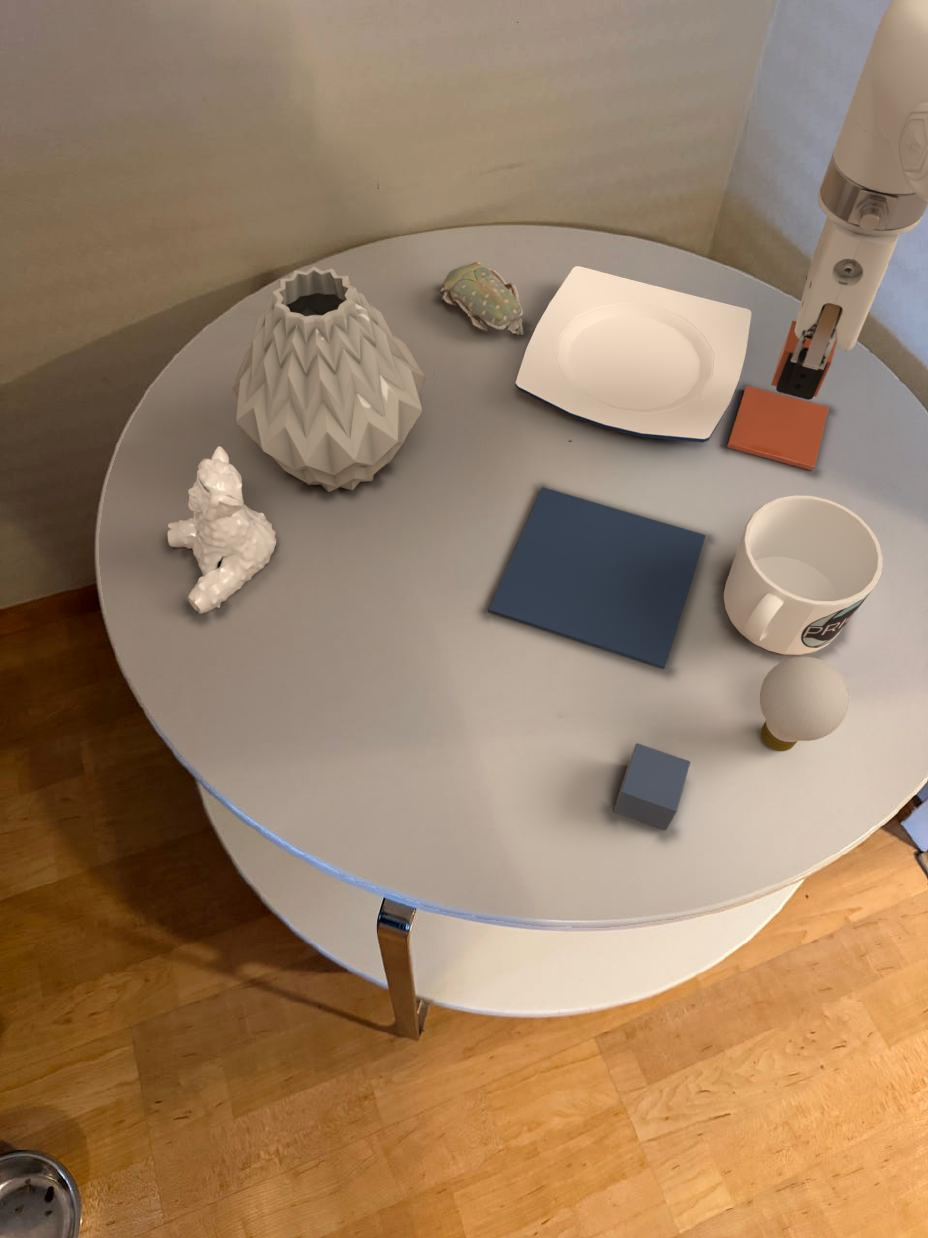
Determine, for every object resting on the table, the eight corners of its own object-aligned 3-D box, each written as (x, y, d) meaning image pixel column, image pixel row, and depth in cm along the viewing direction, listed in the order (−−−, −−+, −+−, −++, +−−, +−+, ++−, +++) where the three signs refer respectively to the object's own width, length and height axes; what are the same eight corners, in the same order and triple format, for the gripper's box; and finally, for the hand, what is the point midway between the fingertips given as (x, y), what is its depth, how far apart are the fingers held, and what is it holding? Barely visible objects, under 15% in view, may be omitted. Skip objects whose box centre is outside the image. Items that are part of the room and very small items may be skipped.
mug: (759, 533, 83) (786, 473, 76) (869, 598, 79) (907, 540, 72) (675, 635, 77) (696, 580, 70) (790, 709, 74) (824, 658, 67)
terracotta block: (823, 366, 84) (839, 331, 81) (816, 397, 82) (831, 362, 79) (779, 355, 85) (792, 319, 82) (770, 385, 83) (783, 350, 80)
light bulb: (797, 790, 70) (843, 733, 62) (723, 751, 72) (759, 690, 63) (825, 729, 73) (874, 666, 64) (754, 692, 75) (792, 627, 66)
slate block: (679, 782, 71) (690, 761, 67) (666, 831, 69) (677, 811, 65) (627, 764, 71) (636, 742, 68) (613, 812, 69) (621, 791, 66)
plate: (566, 278, 100) (569, 257, 98) (756, 327, 97) (763, 306, 94) (500, 409, 90) (501, 389, 88) (709, 469, 87) (716, 450, 84)
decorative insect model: (527, 264, 100) (522, 229, 96) (525, 349, 96) (520, 317, 92) (445, 270, 102) (437, 236, 97) (439, 354, 98) (430, 323, 93)
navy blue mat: (704, 537, 83) (705, 534, 82) (664, 669, 76) (665, 666, 75) (541, 489, 85) (541, 486, 85) (488, 612, 78) (488, 609, 78)
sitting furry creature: (166, 535, 82) (125, 441, 72) (261, 504, 84) (234, 407, 74) (196, 620, 78) (156, 532, 68) (295, 584, 80) (271, 494, 70)
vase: (261, 541, 82) (214, 384, 66) (245, 406, 91) (200, 238, 75) (444, 511, 84) (441, 351, 68) (412, 381, 92) (402, 212, 77)
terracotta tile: (827, 411, 91) (829, 406, 90) (812, 471, 87) (814, 466, 86) (744, 389, 92) (746, 384, 92) (726, 447, 88) (728, 442, 88)
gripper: (916, 270, 63) (825, 454, 79) (943, 134, 71) (856, 325, 87) (804, 244, 65) (736, 429, 80) (843, 113, 73) (775, 305, 88)
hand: (799, 373), depth 84 cm, fingers closed on terracotta block, 4 cm apart
